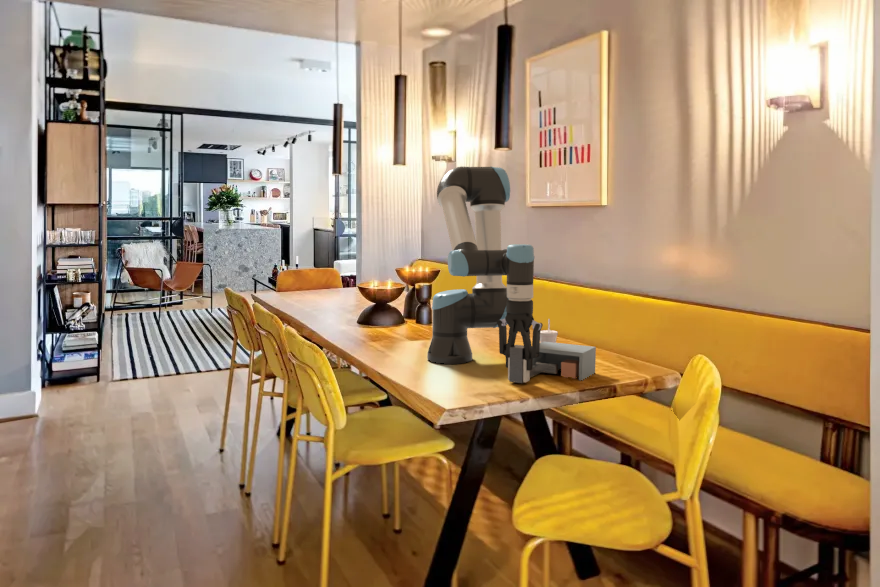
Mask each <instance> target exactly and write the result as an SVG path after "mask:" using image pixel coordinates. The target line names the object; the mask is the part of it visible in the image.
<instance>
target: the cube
mask: <svg viewBox="0 0 880 587" xmlns="http://www.w3.org/2000/svg"><path fill="white" fill-rule="evenodd" d="M560 371H561V372H560V377H561V376H564V377H563V378H568V377H572V378H571V379H577V378H579V377H578V376H579V361H577V360H568V359H567V360H565V361H563V362H561V370H560ZM576 377H577V378H576Z"/></svg>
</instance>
